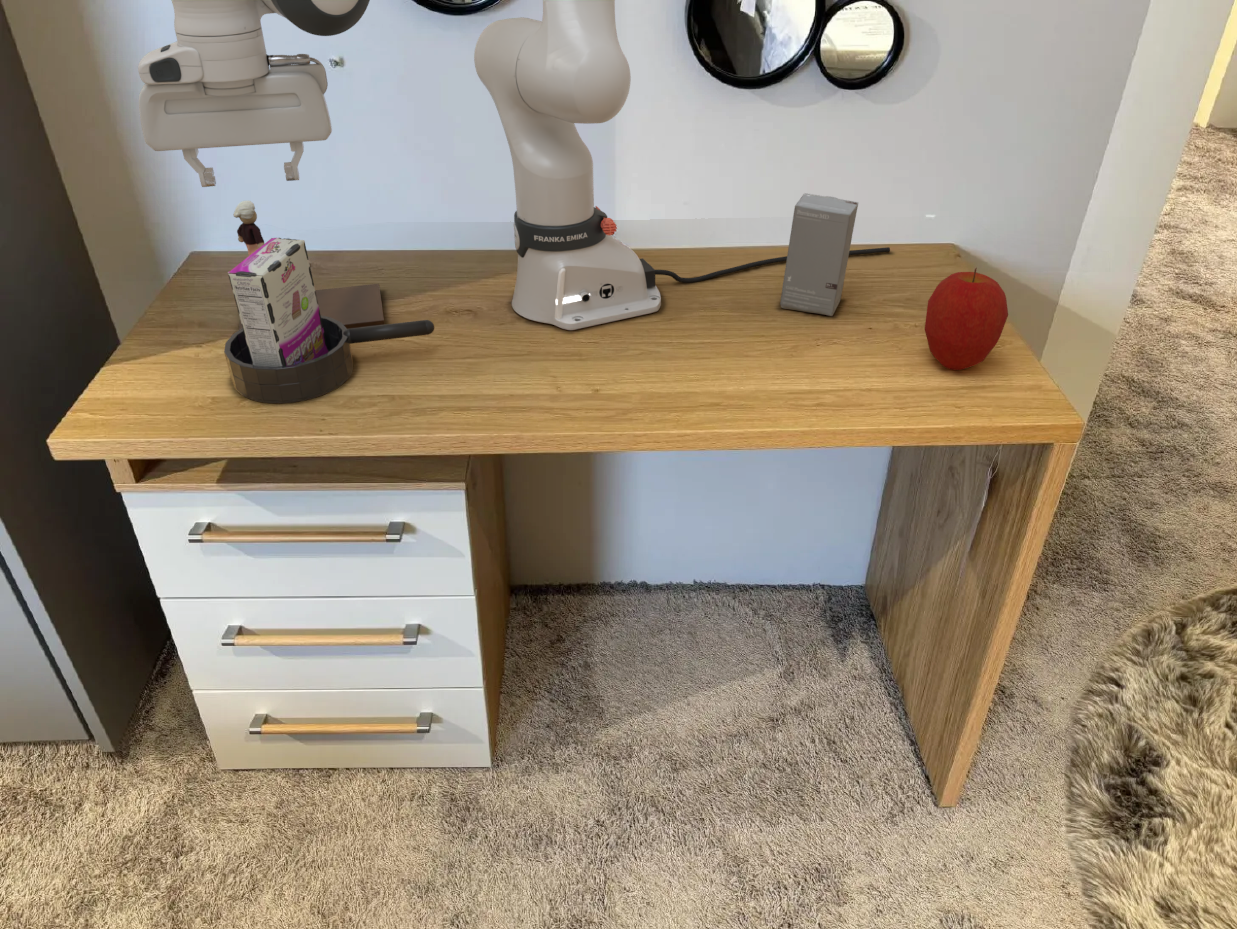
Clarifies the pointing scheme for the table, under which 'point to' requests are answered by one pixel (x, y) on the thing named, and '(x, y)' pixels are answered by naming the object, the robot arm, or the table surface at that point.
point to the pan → (291, 369)
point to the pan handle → (389, 331)
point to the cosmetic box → (818, 254)
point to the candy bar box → (278, 304)
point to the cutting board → (351, 305)
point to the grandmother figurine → (248, 226)
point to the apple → (965, 319)
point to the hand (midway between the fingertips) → (251, 182)
